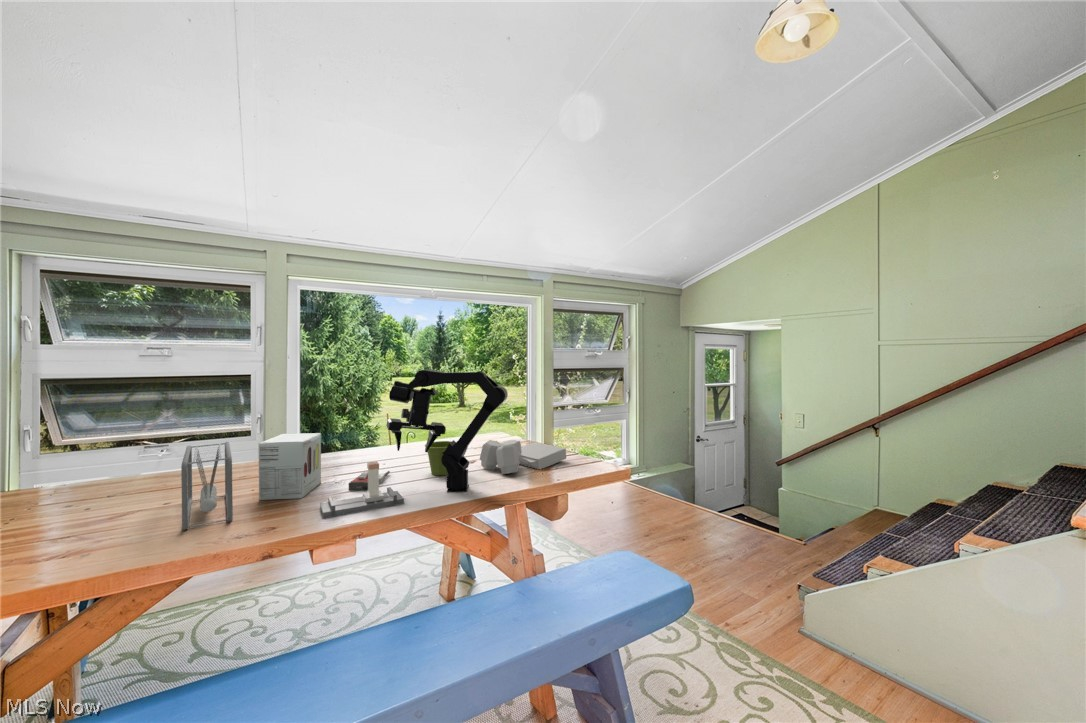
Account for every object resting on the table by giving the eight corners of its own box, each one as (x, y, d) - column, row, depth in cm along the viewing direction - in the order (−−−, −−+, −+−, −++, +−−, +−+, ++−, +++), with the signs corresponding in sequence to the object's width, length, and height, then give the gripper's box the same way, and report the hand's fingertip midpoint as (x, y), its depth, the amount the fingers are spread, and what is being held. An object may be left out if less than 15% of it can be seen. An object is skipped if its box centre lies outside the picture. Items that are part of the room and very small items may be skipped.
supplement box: (303, 498, 135) (303, 441, 135) (257, 501, 133) (257, 443, 132) (322, 482, 152) (322, 432, 152) (282, 484, 150) (281, 433, 149)
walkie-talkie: (372, 492, 142) (392, 475, 162) (372, 479, 142) (391, 463, 162) (345, 492, 142) (368, 475, 162) (345, 479, 142) (368, 464, 162)
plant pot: (432, 468, 170) (432, 440, 170) (460, 469, 169) (460, 441, 168) (419, 477, 159) (419, 446, 158) (450, 478, 157) (450, 447, 157)
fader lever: (380, 494, 134) (379, 459, 133) (384, 499, 128) (383, 464, 128) (362, 496, 131) (362, 462, 131) (366, 502, 126) (366, 466, 126)
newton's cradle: (232, 523, 115) (232, 457, 115) (182, 533, 109) (181, 463, 108) (229, 494, 139) (228, 440, 139) (187, 501, 133) (186, 444, 132)
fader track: (397, 495, 138) (397, 486, 138) (404, 503, 130) (404, 493, 130) (320, 508, 126) (320, 498, 126) (323, 518, 119) (323, 507, 118)
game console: (567, 458, 179) (565, 429, 178) (509, 483, 157) (506, 449, 156) (535, 451, 193) (532, 423, 192) (477, 472, 171) (474, 441, 170)
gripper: (441, 404, 156) (433, 446, 156) (388, 398, 147) (380, 443, 147) (449, 410, 146) (441, 455, 146) (393, 405, 137) (384, 452, 138)
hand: (412, 451), depth 145 cm, fingers open, 9 cm apart
